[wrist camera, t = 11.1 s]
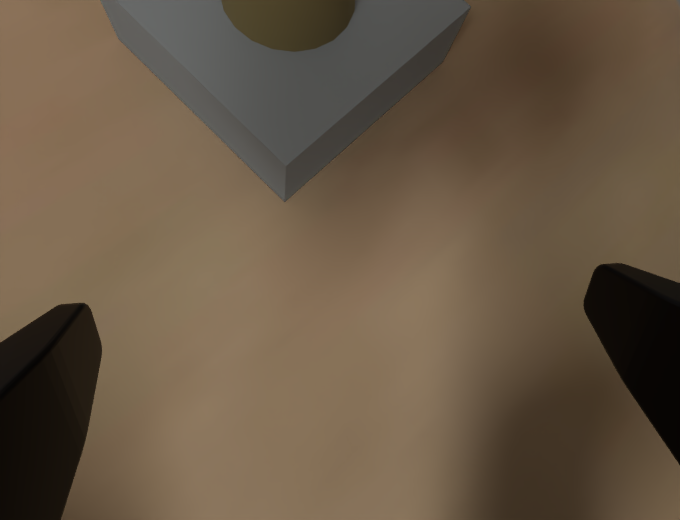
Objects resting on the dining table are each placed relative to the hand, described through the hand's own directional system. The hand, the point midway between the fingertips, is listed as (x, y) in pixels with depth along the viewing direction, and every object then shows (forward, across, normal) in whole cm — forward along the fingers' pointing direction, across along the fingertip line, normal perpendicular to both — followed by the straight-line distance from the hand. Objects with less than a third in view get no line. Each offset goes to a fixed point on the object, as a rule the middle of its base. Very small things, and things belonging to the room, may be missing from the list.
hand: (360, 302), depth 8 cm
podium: (+21, 0, -2) cm, 21 cm away
